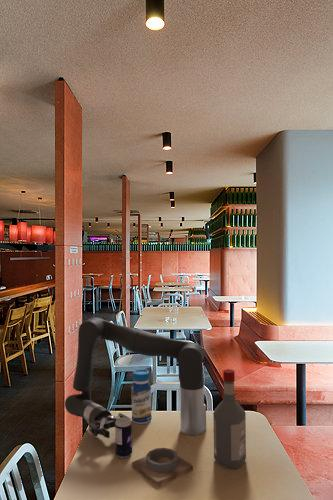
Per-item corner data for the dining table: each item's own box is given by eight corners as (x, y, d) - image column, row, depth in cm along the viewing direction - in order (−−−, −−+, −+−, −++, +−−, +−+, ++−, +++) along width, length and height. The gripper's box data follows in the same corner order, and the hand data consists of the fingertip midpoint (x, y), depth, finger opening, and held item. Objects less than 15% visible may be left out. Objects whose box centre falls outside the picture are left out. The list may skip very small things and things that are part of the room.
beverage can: (129, 459, 132) (128, 424, 132) (113, 458, 133) (112, 423, 133) (134, 451, 138) (133, 417, 138) (118, 449, 139) (118, 415, 139)
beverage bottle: (153, 416, 166) (152, 368, 165) (150, 425, 157) (149, 375, 157) (134, 415, 167) (133, 368, 167) (129, 424, 158) (128, 374, 158)
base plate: (165, 452, 137) (165, 447, 137) (192, 469, 126) (192, 465, 126) (132, 466, 128) (131, 462, 128) (158, 487, 117) (158, 482, 117)
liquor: (248, 458, 132) (247, 369, 132) (237, 471, 124) (235, 377, 124) (223, 450, 137) (222, 365, 137) (211, 463, 129) (210, 372, 129)
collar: (164, 452, 134) (164, 444, 134) (184, 464, 126) (183, 457, 126) (140, 462, 128) (140, 454, 128) (159, 476, 120) (159, 468, 120)
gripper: (79, 411, 146) (101, 426, 133) (113, 401, 155) (136, 415, 142) (80, 431, 146) (101, 448, 133) (113, 420, 155) (136, 435, 142)
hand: (119, 431), depth 138 cm, fingers open, 8 cm apart
